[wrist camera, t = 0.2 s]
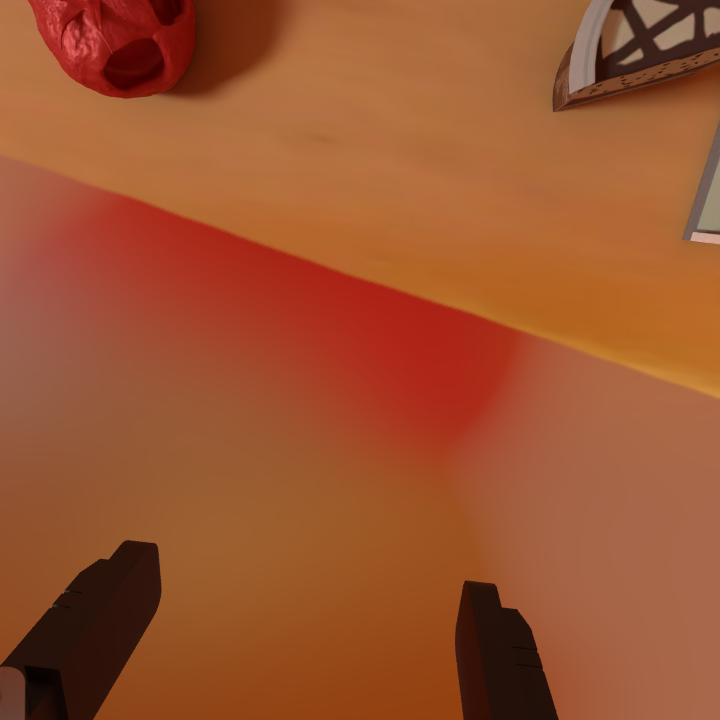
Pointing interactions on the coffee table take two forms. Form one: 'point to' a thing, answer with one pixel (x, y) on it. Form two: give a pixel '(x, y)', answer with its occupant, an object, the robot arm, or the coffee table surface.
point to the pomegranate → (119, 42)
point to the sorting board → (707, 201)
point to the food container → (636, 47)
